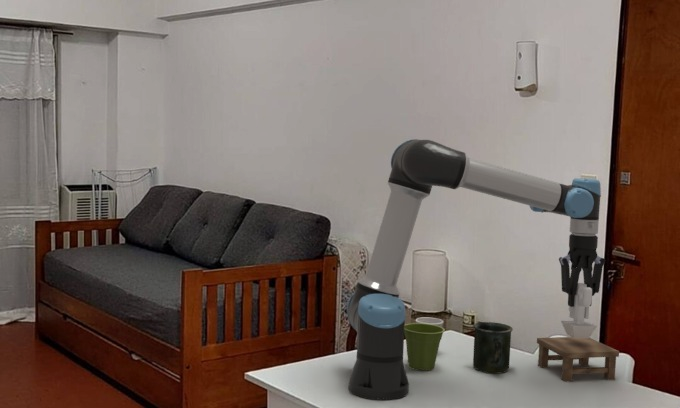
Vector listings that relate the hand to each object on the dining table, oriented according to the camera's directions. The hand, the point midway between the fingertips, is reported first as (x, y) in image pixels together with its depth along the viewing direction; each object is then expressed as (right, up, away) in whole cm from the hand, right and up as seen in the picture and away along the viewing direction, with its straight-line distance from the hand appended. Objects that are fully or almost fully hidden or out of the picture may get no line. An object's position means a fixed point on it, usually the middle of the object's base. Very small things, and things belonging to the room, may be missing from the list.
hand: (578, 317), depth 212 cm
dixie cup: (-40, -13, +16) cm, 45 cm away
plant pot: (-44, -14, +1) cm, 46 cm away
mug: (-24, -15, 0) cm, 28 cm away
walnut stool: (-1, -16, +1) cm, 16 cm away
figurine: (0, -5, 0) cm, 5 cm away
